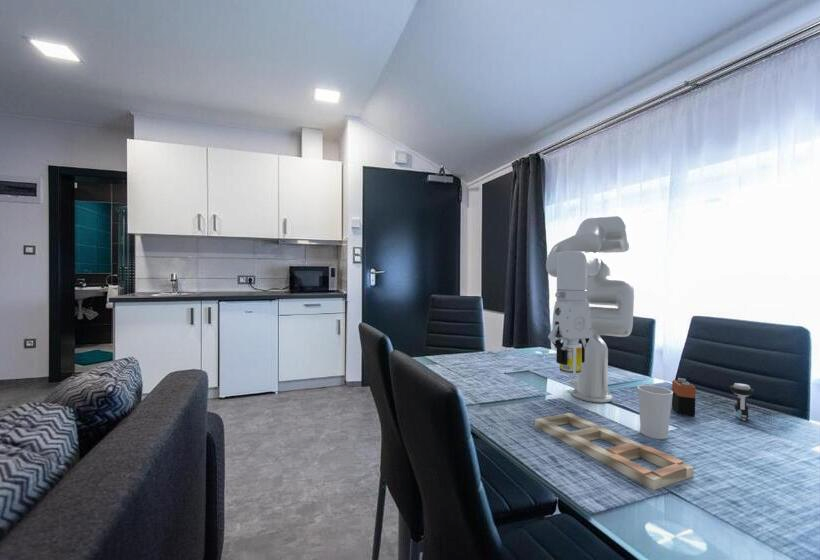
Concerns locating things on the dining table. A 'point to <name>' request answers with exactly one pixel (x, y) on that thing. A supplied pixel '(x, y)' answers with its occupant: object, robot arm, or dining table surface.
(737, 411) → the push button
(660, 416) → the cup
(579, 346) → the supplement bottle
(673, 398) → the battery
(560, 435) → the rack
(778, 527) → the dining table surface
